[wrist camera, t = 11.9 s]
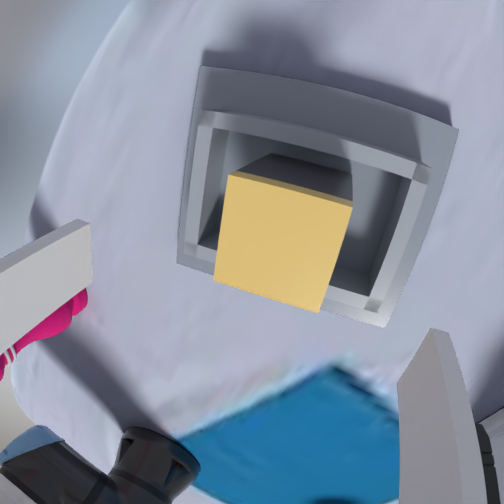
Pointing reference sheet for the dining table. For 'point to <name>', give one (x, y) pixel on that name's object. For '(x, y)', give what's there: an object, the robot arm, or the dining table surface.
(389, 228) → the socket
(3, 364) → the pepper mill
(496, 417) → the supplement box
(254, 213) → the plug
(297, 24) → the dining table surface
